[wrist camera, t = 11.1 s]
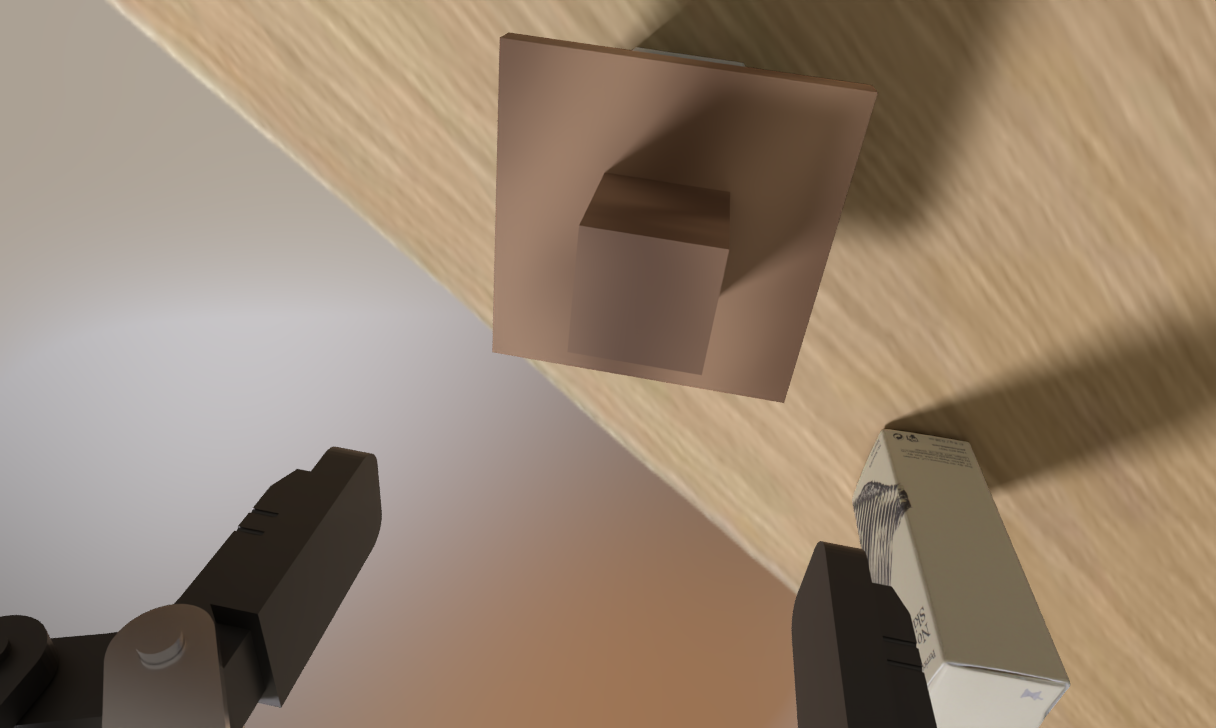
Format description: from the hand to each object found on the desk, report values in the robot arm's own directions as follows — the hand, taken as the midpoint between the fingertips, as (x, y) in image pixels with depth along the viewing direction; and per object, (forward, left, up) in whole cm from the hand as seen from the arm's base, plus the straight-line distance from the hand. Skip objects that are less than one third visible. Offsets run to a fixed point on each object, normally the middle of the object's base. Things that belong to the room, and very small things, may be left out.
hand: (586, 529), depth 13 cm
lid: (0, 0, -14) cm, 14 cm away
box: (-14, +13, -20) cm, 28 cm away
